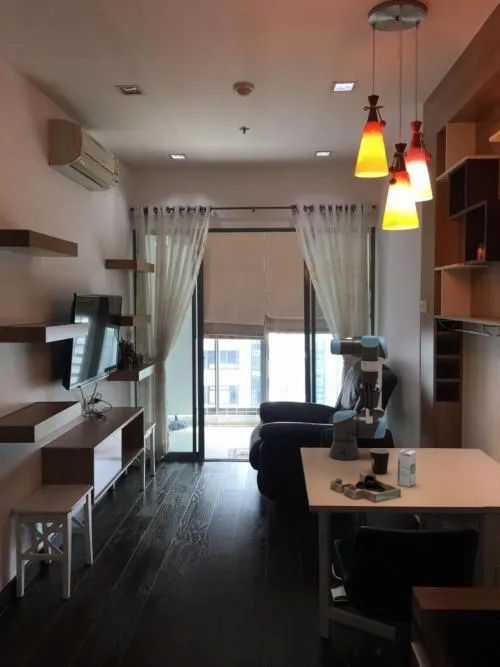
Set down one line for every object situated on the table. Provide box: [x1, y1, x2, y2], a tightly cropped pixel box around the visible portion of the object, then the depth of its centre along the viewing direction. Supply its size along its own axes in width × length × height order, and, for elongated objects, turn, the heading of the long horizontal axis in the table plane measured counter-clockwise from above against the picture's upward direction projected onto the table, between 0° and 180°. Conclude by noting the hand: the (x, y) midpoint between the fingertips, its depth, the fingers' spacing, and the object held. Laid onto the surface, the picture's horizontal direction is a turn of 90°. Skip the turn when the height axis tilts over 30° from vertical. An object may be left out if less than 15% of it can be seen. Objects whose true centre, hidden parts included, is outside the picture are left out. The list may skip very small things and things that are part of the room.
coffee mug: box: [369, 448, 390, 475], centre depth 250 cm, size 12×9×10 cm
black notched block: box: [354, 473, 385, 492], centre depth 227 cm, size 12×7×5 cm, turn 61°
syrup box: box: [396, 448, 417, 488], centre depth 231 cm, size 6×6×14 cm
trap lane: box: [329, 473, 402, 503], centre depth 222 cm, size 24×18×3 cm
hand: (369, 422), depth 240 cm, fingers closed
